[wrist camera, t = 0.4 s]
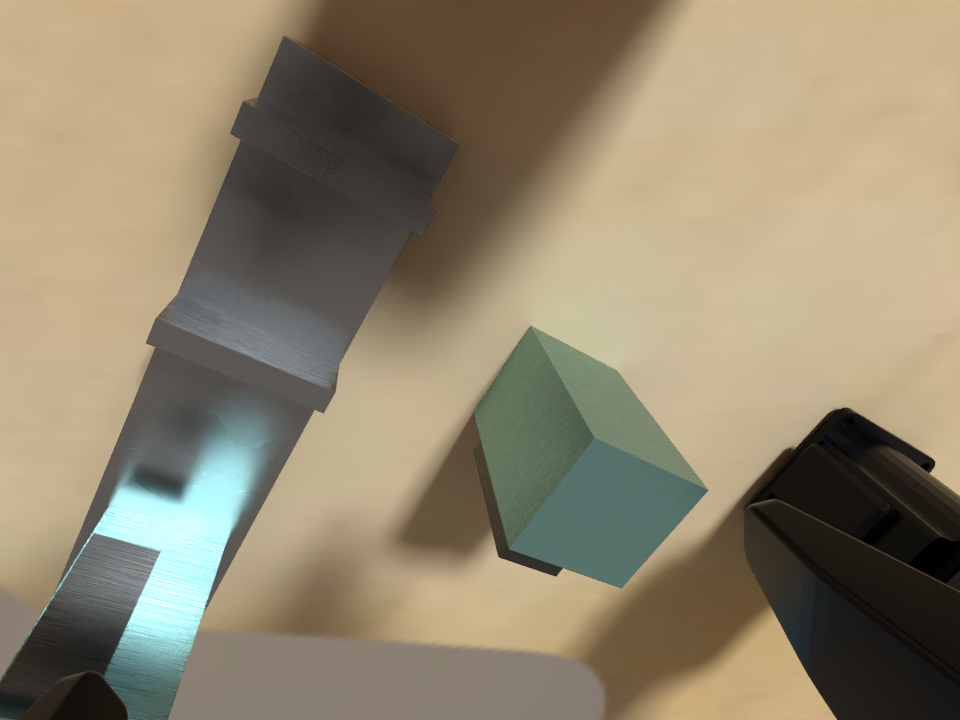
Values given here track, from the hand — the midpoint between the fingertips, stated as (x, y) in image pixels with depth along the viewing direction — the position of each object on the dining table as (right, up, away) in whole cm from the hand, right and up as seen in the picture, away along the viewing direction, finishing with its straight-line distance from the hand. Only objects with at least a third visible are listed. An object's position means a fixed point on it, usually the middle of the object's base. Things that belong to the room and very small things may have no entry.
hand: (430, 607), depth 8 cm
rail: (-8, +2, +12) cm, 15 cm away
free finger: (+3, +2, +14) cm, 14 cm away
